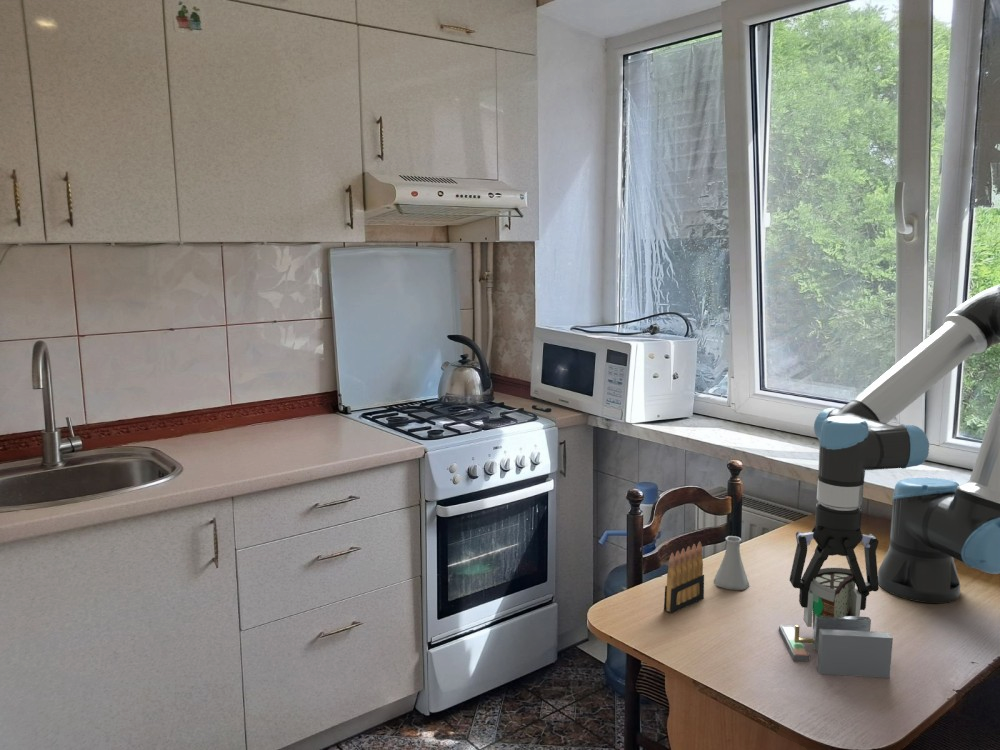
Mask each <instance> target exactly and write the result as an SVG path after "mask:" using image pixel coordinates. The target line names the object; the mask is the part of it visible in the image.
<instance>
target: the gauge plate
mask: <svg viewBox="0 0 1000 750" xmlns="http://www.w3.org/2000/svg"><path fill="white" fill-rule="evenodd" d="M871 625H872V619H871V618H870V617H869V616H860V617H857V616H836V615H835V616H833V615H815V621H814V629H813V638H805V637H802V638H801V637H800V628H801V627H800V625H798V624H795V625H794V627H795V636H794V642H795V643H803V644H812V647H813V649H814V650H815V651H818V643H819V629H832V630H853V631H871ZM799 637H800V638H799Z"/></svg>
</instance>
